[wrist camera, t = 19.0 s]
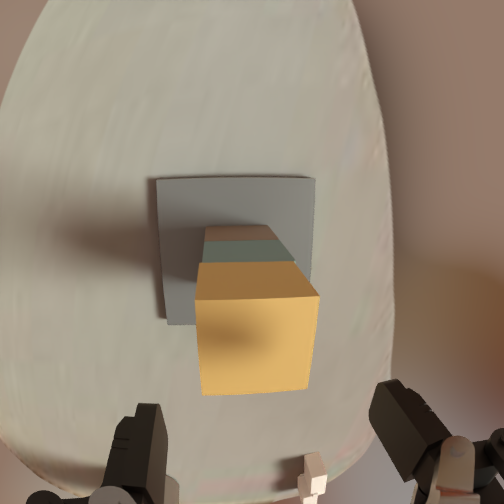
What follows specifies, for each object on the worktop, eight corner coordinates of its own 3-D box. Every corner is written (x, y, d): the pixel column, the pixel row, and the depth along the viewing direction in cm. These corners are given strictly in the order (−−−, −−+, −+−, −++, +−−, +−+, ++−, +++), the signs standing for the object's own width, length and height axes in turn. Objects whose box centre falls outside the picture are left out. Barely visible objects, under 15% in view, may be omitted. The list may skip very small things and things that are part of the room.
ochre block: (287, 340, 20) (307, 388, 15) (203, 343, 19) (202, 395, 15) (293, 261, 19) (319, 296, 14) (199, 262, 18) (194, 300, 13)
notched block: (305, 440, 40) (314, 469, 34) (355, 450, 43) (367, 474, 37) (251, 486, 43) (256, 511, 37) (302, 493, 45) (308, 516, 40)
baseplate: (303, 313, 32) (321, 345, 27) (168, 319, 31) (160, 353, 25) (311, 177, 28) (336, 183, 23) (158, 179, 27) (143, 184, 21)
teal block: (276, 306, 25) (290, 339, 20) (207, 309, 24) (206, 344, 20) (279, 239, 23) (296, 260, 19) (204, 241, 23) (201, 263, 18)
